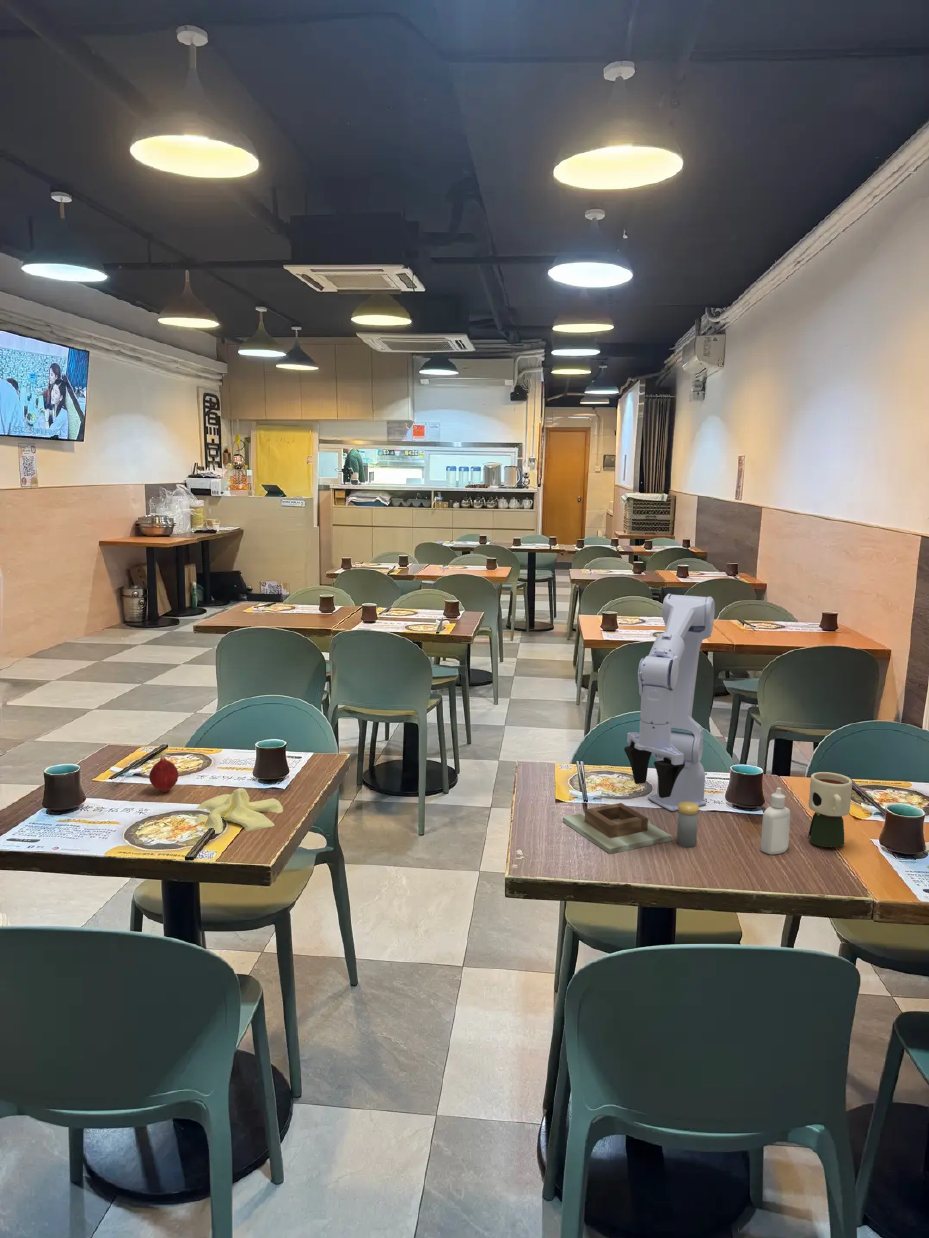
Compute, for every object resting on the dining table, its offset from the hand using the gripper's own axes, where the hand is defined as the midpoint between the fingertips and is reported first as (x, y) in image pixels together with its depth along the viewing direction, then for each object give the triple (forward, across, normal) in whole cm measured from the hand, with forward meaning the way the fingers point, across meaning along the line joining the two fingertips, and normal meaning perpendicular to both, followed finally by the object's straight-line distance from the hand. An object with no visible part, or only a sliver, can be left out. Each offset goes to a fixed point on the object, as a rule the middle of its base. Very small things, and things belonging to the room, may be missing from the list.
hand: (652, 789), depth 158 cm
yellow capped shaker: (+10, +5, +5) cm, 12 cm away
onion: (+10, -60, -82) cm, 102 cm away
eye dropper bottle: (+10, +14, +18) cm, 25 cm away
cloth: (+10, -40, -71) cm, 82 cm away
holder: (+10, -5, -4) cm, 12 cm away
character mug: (+10, +15, +29) cm, 34 cm away
